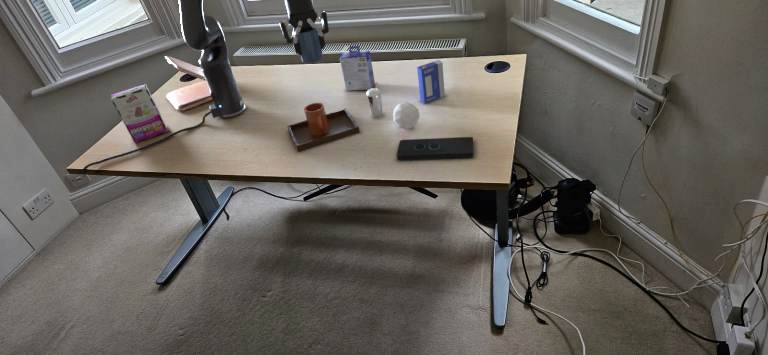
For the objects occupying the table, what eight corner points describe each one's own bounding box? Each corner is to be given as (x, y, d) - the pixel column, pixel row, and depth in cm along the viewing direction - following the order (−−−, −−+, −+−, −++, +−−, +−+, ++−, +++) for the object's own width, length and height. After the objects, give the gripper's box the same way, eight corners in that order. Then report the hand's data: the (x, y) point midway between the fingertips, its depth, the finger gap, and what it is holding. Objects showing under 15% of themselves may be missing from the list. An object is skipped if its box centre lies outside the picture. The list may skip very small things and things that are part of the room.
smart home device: (400, 139, 130) (473, 135, 126) (400, 144, 131) (473, 141, 127) (396, 155, 124) (473, 152, 120) (397, 161, 125) (473, 158, 121)
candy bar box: (166, 126, 163) (146, 83, 154) (168, 132, 159) (147, 87, 150) (133, 137, 160) (110, 94, 150) (134, 143, 156) (110, 99, 147)
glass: (304, 64, 138) (297, 34, 133) (300, 58, 143) (292, 29, 138) (325, 58, 139) (319, 29, 134) (320, 52, 145) (313, 23, 139)
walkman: (425, 104, 149) (421, 68, 142) (420, 101, 151) (416, 66, 144) (445, 96, 151) (443, 61, 145) (441, 93, 154) (438, 58, 147)
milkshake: (388, 111, 148) (383, 82, 143) (381, 120, 145) (376, 90, 139) (375, 110, 150) (370, 82, 145) (368, 118, 146) (362, 89, 141)
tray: (298, 152, 136) (296, 146, 135) (289, 131, 147) (287, 125, 146) (360, 132, 140) (358, 126, 139) (346, 114, 151) (345, 108, 150)
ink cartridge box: (375, 83, 168) (369, 43, 160) (372, 89, 164) (365, 49, 155) (349, 84, 170) (341, 45, 162) (345, 91, 166) (337, 51, 158)
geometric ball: (402, 133, 141) (389, 110, 141) (425, 121, 140) (413, 97, 140) (398, 134, 134) (385, 109, 134) (423, 121, 132) (410, 96, 132)
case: (233, 93, 179) (218, 53, 170) (178, 113, 171) (160, 72, 162) (216, 79, 194) (202, 41, 185) (165, 97, 185) (148, 59, 176)
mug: (308, 129, 145) (302, 106, 141) (326, 123, 147) (320, 100, 142) (314, 141, 139) (308, 117, 134) (333, 135, 140) (327, 111, 135)
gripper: (318, -15, 135) (330, 42, 145) (269, -3, 132) (285, 54, 141) (324, -10, 129) (337, 48, 139) (274, 2, 126) (290, 61, 136)
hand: (310, 51), depth 140 cm, fingers closed on glass, 6 cm apart
